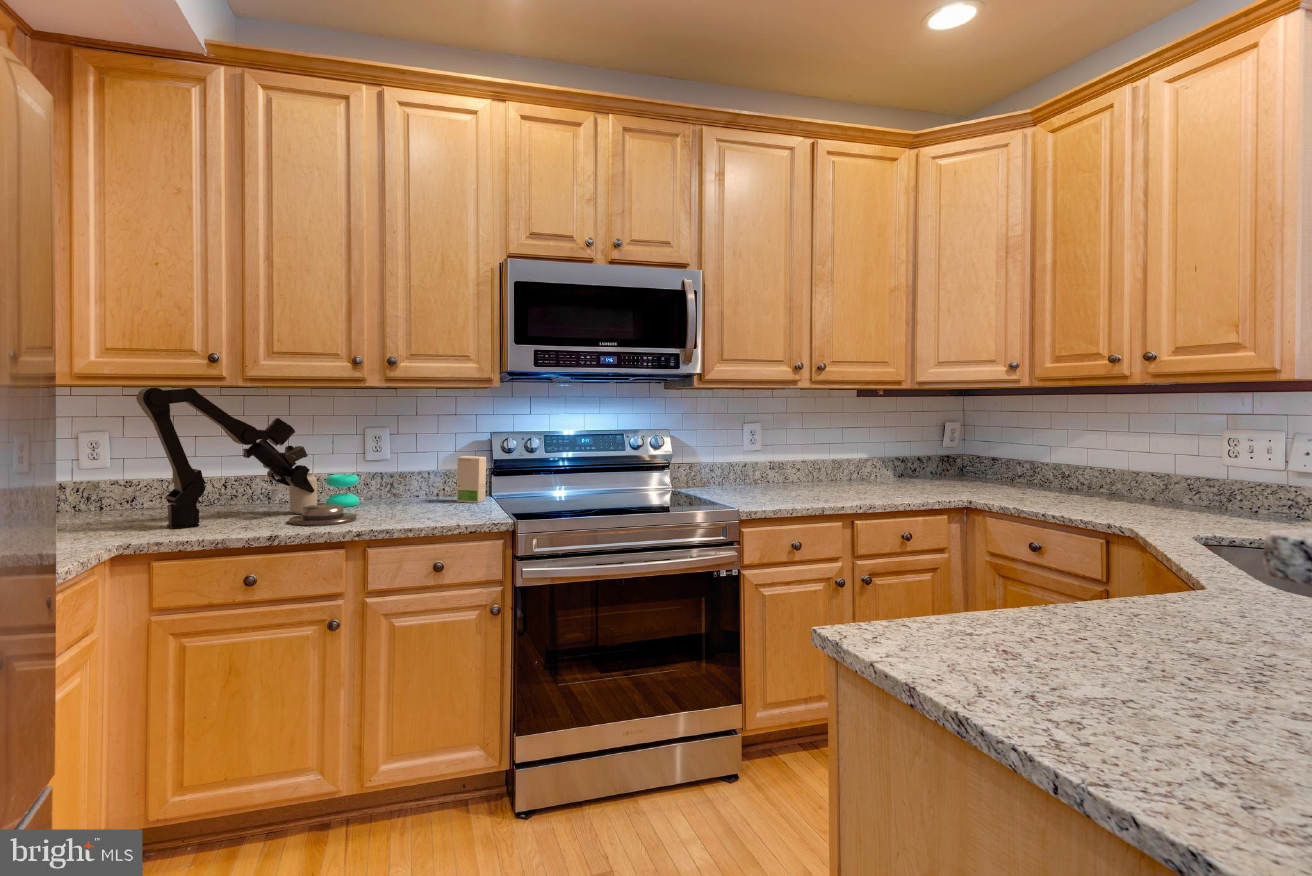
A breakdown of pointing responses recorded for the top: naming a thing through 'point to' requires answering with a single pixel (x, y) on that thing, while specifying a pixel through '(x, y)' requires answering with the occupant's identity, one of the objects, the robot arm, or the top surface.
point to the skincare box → (471, 479)
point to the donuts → (343, 481)
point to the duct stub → (322, 516)
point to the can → (303, 496)
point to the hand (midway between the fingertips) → (308, 490)
